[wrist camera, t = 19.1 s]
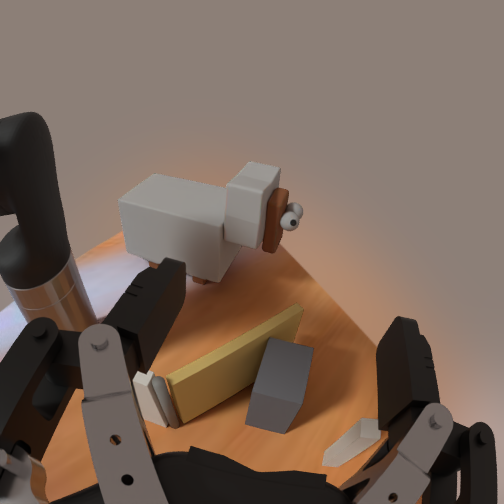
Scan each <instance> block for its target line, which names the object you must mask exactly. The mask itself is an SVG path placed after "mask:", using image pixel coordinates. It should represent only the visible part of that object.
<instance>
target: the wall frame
mask: <svg viewBox="0 0 504 504" xmlns="http://www.w3.org/2000/svg"><path fill="white" fill-rule="evenodd" d="M133 383H134V387H135V391H136V395H137V398H138V402H139V405H140V409H141V412H142V416H143V419H145V420H148V421H150V422H153V423H155V424H158V425H161V426H163V427H166V428H167V425H168V423H169V424H170V426H171V427H172V428H174V429H176V428H178V427H179V425H180V424H179V421H178V418H177V415H176V413H175V410H174V407H173V404H172V401H171V398H170V395H169V392H168V389H167V386H166V383H165V380H164V378H162V377H160V376H157V377H155V374H154V372H152V371H148V373H147V375H146V374H144V373H141V372H139V371H137V373H136V375H135V377H134V379H133ZM380 437H381V430H378V419H368V418H361V419H360V420H359V421H358V422H357V423H356V424H355V425H354V426H352V427H351V428H350V429H349V430H348V431H347V432H346V433H345V434H344V435H343V436H341V437H340V438H339V439H338V440H337V441H336V442H335V443H334V444H332V445H331V446H330V447H329V448H328V449H327V450H325V451H324V457H323V463H322V466H331V467H339V466H341V465H342V464H344V463H345V462H347V461H349V460H350V459H352V458H353V457H355V456H356V455H358V454H359V453H361V452H362V451H364V450H365V449H367V448H368V447H370V446H371V445H372V444H374V443H375V442H377V441H378V440H380Z"/></svg>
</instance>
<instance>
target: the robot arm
mask: <svg viewBox="0 0 504 504" xmlns="http://www.w3.org/2000/svg"><path fill="white" fill-rule="evenodd" d="M10 214H16V216H17V220H18V223H19V225H17V226H16V227H14V228H13V229H12V230H11V231H10V232H8V233H7V235H6V236H5V237H4V238H3V239H2V241H1V242H0V274H1V276H2V278H3V280H4V282H5V284H6V286H7V288H8V290H9V292H10V293H11V295H12V297H13V299H14V301H15V302H16V304H17V306H18V308H19V309H20V311H21V313H22V315H23V316H24V318H25V320H26V321H27V323H28V324H27V325H26V326H25V328H24V329H23V331H22V332H21V333H20V335H19V336H18V338H17V339H16V340H15V342H14V343H13V345H12V346H11V348H10V349H9V351H8V352H7V354H6V355H5V357H4V358H3V360H2V361H1V363H0V504H415V503H416V502H417V501H418V499H419V498H420V496H421V495H422V493H423V495H422V504H497V464H496V450H495V439H494V434H493V432H492V430H491V428H490V427H489V426H488V425H487V424H485V423H483V422H477V423H475V424H474V425H472V426H471V427H470V428H468V427H466V426H463V425H461V424H458V423H456V422H454V421H453V418H452V415H451V413H450V411H449V410H448V409H447V408H446V407H445V406H443V405H441V404H440V398H439V391H438V385H437V380H436V374H435V370H434V363H433V360H432V353H431V348H430V345H429V344H428V342H427V340H426V338H425V337H424V335H420V333H419V328H418V324H417V321H416V320H414V319H409V318H404V317H400V316H398V317H396V318H395V319H394V321H393V322H392V324H391V325H390V327H389V328H388V330H387V332H386V333H385V335H384V336H383V337H382V339H381V340H380V342H379V344H378V347H377V351H376V364H377V387H378V430H384V431H388V437H387V438H386V439H385V440H384V441H383V442H382V444H381V445H380V446H379V447H378V449H377V450H376V451H375V452H374V453H373V455H372V456H371V457H370V458H369V459H368V460H367V461H366V463H365V464H364V465H363V466H362V467H361V468H360V469H359V470H358V471H357V472H356V473H355V474H354V475H353V476H352V477H351V478H349V479H348V480H347V481H346V482H344V483H343V484H342V485H341V486H340V487H339V488H337V487H336V486H334V485H332V484H330V483H328V482H326V476H327V475H325V474H317V473H309V472H302V471H295V470H294V471H279V472H257V471H254V470H252V469H250V468H248V467H246V466H244V465H242V464H240V463H238V462H236V461H234V460H232V459H230V458H228V457H226V456H224V455H220V454H216V453H213V452H209V451H206V450H203V449H199V448H196V447H193V446H190V449H189V452H183V451H178V452H167V453H162V454H158V455H156V454H155V451H154V448H153V445H152V443H151V440H150V437H149V434H148V431H147V428H146V425H145V422H144V419H143V416H142V412H141V409H140V405H139V402H138V398H137V395H136V391H135V387H134V383H133V379H134V377H135V375H136V373H137V371H139V372H141V373H144V374H146V375H147V373H148V371H149V369H150V367H151V365H152V363H153V361H154V359H155V357H156V355H157V353H158V352H159V350H160V348H161V346H162V344H163V342H164V340H165V338H166V336H167V334H168V332H169V331H170V329H171V327H172V325H173V323H174V321H175V319H176V317H177V315H178V314H179V312H180V310H181V308H182V306H183V303H184V299H185V294H186V263H185V262H182V261H179V260H175V259H171V258H168V257H165V258H164V259H163V260H162V262H161V263H160V265H159V266H158V267H157V269H155V268H152V267H148V268H147V269H145V270H144V271H142V272H140V273H139V274H138V275H137V276H136V277H135V279H134V280H133V281H132V283H131V285H129V287H128V288H127V289H126V291H125V293H123V295H122V296H121V297H120V299H119V300H118V302H117V303H116V304H115V306H114V307H113V308H112V310H111V311H110V313H109V314H108V315H107V317H106V318H105V320H104V321H103V322H102V323H101V324H99V323H98V320H97V318H96V315H95V313H94V311H93V308H92V306H91V303H90V301H89V298H88V295H87V293H86V290H85V288H84V285H83V282H82V279H81V277H80V274H79V271H78V268H77V265H76V262H75V259H74V256H73V253H72V250H71V247H70V244H69V241H68V237H67V231H66V223H65V217H64V211H63V207H62V202H61V198H60V193H59V187H58V181H57V174H56V166H55V158H54V151H53V144H52V140H51V135H50V132H49V129H48V126H47V124H46V122H45V120H44V119H43V118H42V116H40V115H39V114H37V113H35V112H26V113H21V114H17V115H13V116H9V117H6V118H2V119H0V216H4V215H10ZM76 388H77V389H84V399H83V400H82V413H83V419H84V424H85V429H86V434H87V439H88V444H89V448H90V452H91V457H92V461H93V465H94V468H95V472H96V476H97V479H98V483H97V484H94V485H92V486H90V487H88V488H85V489H83V490H81V491H78V492H76V493H73V494H71V495H68V496H66V497H63V498H61V499H58V500H55V501H53V502H50V503H49V501H48V499H47V497H46V494H45V485H46V479H47V476H46V471H45V469H44V467H43V465H42V463H41V460H42V458H43V456H44V453H45V451H46V449H47V447H48V444H49V442H50V440H51V438H52V436H53V434H54V431H55V429H56V427H57V425H58V423H59V421H60V419H61V417H62V415H63V413H64V411H65V409H66V407H67V405H68V403H69V401H70V399H71V397H72V395H73V393H74V391H75V389H76ZM459 470H461V485H460V487H461V488H460V496H459V498H458V499H457V501H456V496H457V471H459Z"/></svg>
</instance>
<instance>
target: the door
mask: <svg viewBox="0 0 504 504" xmlns="http://www.w3.org/2000/svg"><path fill="white" fill-rule="evenodd" d="M303 311H304V308H303V307H301V306H300V305H299V304H298V303H295V304H294V305H292V306H290V307H289V308H287V309H285V310H284V311H282V312H280V313H279V314H277V315H275V316H274V317H272V318H270V319H269V320H267V321H265V322H263V323H262V324H260V325H258V326H257V327H255V328H253V329H251V330H250V331H248V332H246V333H244V334H243V335H241V336H239V337H237V338H236V339H234V340H232V341H230V342H228V343H227V344H225V345H223V346H221V347H219V348H218V349H216V350H214V351H212V352H210V353H208V354H207V355H205V356H203V357H201V358H199V359H197V360H195V361H194V362H192V363H190V364H188V365H186V366H184V367H182V368H180V369H178V370H176V371H174V372H172V373H171V374H169V375H167V376H166V379H167V382H168V385H169V388H170V392H171V395H172V398H173V401H174V404H175V407H176V410H177V413H178V416H179V417H180V419H181V420H182V422H183V423H186V422H188V421H190V420H191V419H193V418H195V417H197V416H198V415H200V414H202V413H204V412H205V411H207V410H209V409H211V408H212V407H214V406H216V405H217V404H219V403H221V402H222V401H224V400H226V399H227V398H229V397H231V396H232V395H234V394H236V393H237V392H239V391H240V390H242V389H244V388H245V387H247V386H248V385H250V384H251V383H253V382H254V381H256V378H257V375H258V372H259V368H260V365H261V362H262V359H263V356H264V353H265V350H266V346H267V343H268V340H269V337H272V338H276V339H279V340H283V341H287V342H291V343H293V342H294V339H295V336H296V333H297V329H298V326H299V323H300V320H301V317H302V314H303Z"/></svg>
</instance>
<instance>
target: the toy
mask: <svg viewBox="0 0 504 504" xmlns="http://www.w3.org/2000/svg"><path fill="white" fill-rule="evenodd" d="M280 172H281V169H280V168H279V167H274V166H270V165H266V164H261V163H256V162H251V161H250V162H249V163H248V164H247V165H246V166H245V167H244V168H243V169H242V170H241V171H240V172H239V173H238V174H237V175H236V176H235V177H234V178H233V179H232V180H231V181H230V182H228V184H227V186H226V188H223V187H219V186H214V185H210V184H205V183H200V182H195V181H191V180H186V179H181V178H176V177H171V176H166V175H161V174H156V173H154V174H153V175H152V176H150V177H149V178H147V179H146V180H144V181H143V182H141V183H140V184H139V185H137V186H136V187H134V188H133V189H132V190H130V191H129V192H128V193H126V194H125V195H123V196H122V197H121V198H120V199H118V204H119V211H120V217H121V223H122V228H123V234H124V239H125V244H126V249H127V252H128V253H130V254H133V255H136V256H139V257H142V258H143V259H145V260H148V261H149V266H150V267H153V268H155V269H157V267H158V266H159V265H160V263H161V262H162V260H163V259H164V258H165V257H168V258H171V259H175V260H179V261H182V262H185V263H186V273H187V274H189V275H192V276H193V282H196V283H199V284H202V285H204V284H205V283H206V281H207V280H210V281H213V282H217V283H219V282H220V281H221V279H222V277H223V276H224V274H225V273H226V271H227V269H228V268H229V266H230V265H231V263H232V261H233V260H234V258H235V256H236V255H237V253H238V252H239V250H240V248H241V247H242V246H246V247H249V248H253V249H257V247H258V246H259V245H260V243H261V242H262V241H263V245H262V250H263V251H265V252H269V253H275V252H276V249H277V247H278V245H279V243H280V240H281V238H282V234H283V229H284V230H287V231H293V230H295V229H296V228H297V227H298V225H299V219H300V218H301V217H302V215H303V208H302V207H301V205H299V204H298V203H290V204H288V205H287V202H288V196H289V191H288V190H286V189H282V188H279V180H280Z"/></svg>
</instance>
